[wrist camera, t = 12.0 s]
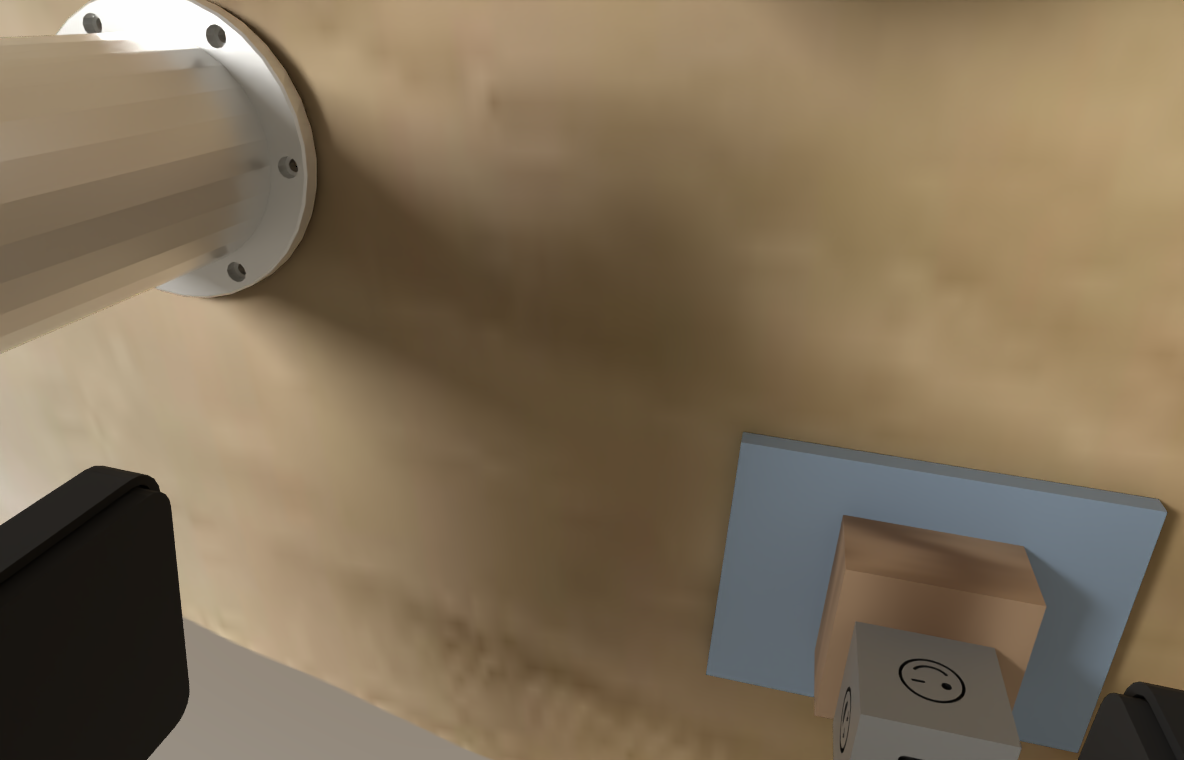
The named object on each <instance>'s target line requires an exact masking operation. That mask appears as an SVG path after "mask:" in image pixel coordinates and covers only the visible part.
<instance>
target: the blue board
mask: <svg viewBox="0 0 1184 760" xmlns="http://www.w3.org/2000/svg"><path fill="white" fill-rule="evenodd" d="M843 515H848V516H853V517H859V518H865V519H871V520H876V521H882V522H888V523H893V524H899V525H905V526H911V527H916V528H922V529H928V530H934V531H939V532H945V533H951V534H956V535H962V536H968V537H974V538H979V539H985V540H991V541H997V542H1002V543H1008V544H1014V545H1019V546H1024V548H1025V551H1026V553H1027V556H1028V559H1029V561H1030V564H1031V567H1032V569H1033V572H1034V575H1035V577H1036V580H1037V583H1038V585H1039V588H1040V591H1041V593H1042V596H1043V599H1044V601H1045V604H1046V609H1045V613H1044V616H1043V619H1042V622H1041V625H1040V628H1039V631H1038V634H1037V637H1036V640H1035V643H1034V646H1033V649H1032V652H1031V655H1030V658H1029V662H1028V665H1027V668H1026V671H1025V674H1024V677H1023V680H1022V683H1021V686H1020V689H1019V692H1018V695H1017V698H1016V701H1015V704H1014V707H1013V711H1012V714H1013V717H1014V721H1015V725H1016V729H1017V732H1018V736H1019V740H1020V741H1023V742H1028V743H1033V744H1037V745H1042V746H1047V747H1052V748H1056V749H1061V750H1066V751H1071V752H1075V753H1078V751H1079V749H1080V746H1081V743H1082V741H1083V738H1084V735H1085V733H1086V730H1087V727H1088V724H1089V722H1090V719H1091V716H1092V714H1093V711H1094V708H1095V706H1096V703H1097V700H1098V698H1099V695H1100V692H1101V690H1102V687H1103V684H1104V681H1105V679H1106V676H1107V673H1108V671H1109V668H1110V665H1111V663H1112V660H1113V657H1114V655H1115V652H1116V649H1117V647H1118V644H1119V641H1120V638H1121V636H1122V633H1123V630H1124V628H1125V625H1126V622H1127V620H1128V617H1129V614H1130V612H1131V609H1132V606H1133V604H1134V601H1135V598H1136V596H1137V593H1138V590H1139V587H1140V585H1141V582H1142V579H1143V577H1144V574H1145V571H1146V569H1147V566H1148V563H1149V561H1150V558H1151V555H1152V553H1153V550H1154V547H1155V544H1156V542H1157V539H1158V536H1159V534H1160V531H1161V528H1162V526H1163V523H1164V520H1165V518H1166V515H1167V511H1166V509H1165V508H1164V506H1163V505H1162V503H1161V502H1160V501H1159V499H1154V498H1148V497H1142V496H1136V495H1129V494H1123V493H1117V492H1111V491H1105V490H1099V489H1092V488H1086V487H1080V486H1074V485H1068V484H1062V483H1055V482H1049V481H1043V480H1037V479H1031V478H1024V477H1018V476H1012V475H1006V474H1000V473H994V472H987V471H981V470H975V469H969V468H963V467H956V466H950V465H944V464H938V463H932V462H926V461H919V460H913V459H907V458H901V457H895V456H889V455H882V454H876V453H870V452H864V451H858V450H851V449H845V448H839V447H833V446H827V445H821V444H814V443H808V442H802V441H796V440H790V439H784V438H777V437H771V436H765V435H759V434H753V433H746V432H743V435H742V441H741V447H740V454H739V460H738V467H737V473H736V480H735V487H734V493H733V500H732V506H731V513H730V520H729V526H728V533H727V539H726V546H725V552H724V559H723V566H722V572H721V579H720V585H719V592H718V599H717V605H716V612H715V618H714V625H713V632H712V638H711V645H710V651H709V658H708V664H707V671H706V675H710V676H715V677H720V678H724V679H729V680H734V681H739V682H743V683H748V684H753V685H758V686H762V687H767V688H772V689H777V690H781V691H786V692H791V693H796V694H800V695H805V696H810V697H814V662H815V647H816V642H817V637H818V632H819V628H820V623H821V618H822V613H823V609H824V604H825V599H826V594H827V589H828V585H829V580H830V575H831V570H832V565H833V561H834V556H835V551H836V546H837V541H838V537H839V532H840V527H841V522H842V518H843Z"/></svg>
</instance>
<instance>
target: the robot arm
mask: <svg viewBox="0 0 1184 760" xmlns="http://www.w3.org/2000/svg"><path fill="white" fill-rule="evenodd" d="M225 34H226V38H225ZM295 162H296V163H297V167H298V169H297V167H296V166H295ZM316 189H317V158H316V152H315V147H314V141H313V135H312V130H311V126H310V123H309V121H308V118H307V115H306V112H305V109H304V106H303V103H302V100H301V98H300V96H299V94H298V92H297V90H296V89H295V87H294V85H293V83H292V81H291V79H290V77H289V76H288V74H287V72H286V70H285V69H284V67H283V66H282V65H281V63H280V62H279V61H278V59H277V58H276V57H275V55H274V54H273V53H272V52H271V50H270V49H269V48H268V46H267V45H266V44H265V43H264V42H263V41H262V40H261V39H260V38H259V37H258V36H257V35H256V34H255V33H254V32H253V31H252V30H250V29H249V28H248V27H247V26H246V25H245V24H244V23H243V22H242V21H240V20H239V19H237V18H236V17H234V16H233V15H231V14H230V13H228V12H227V11H225V10H224V9H222V8H221V7H219V6H218V5H215V4H213V3H211V2H208V1H206V0H91V1H89V2H87V3H86V4H85V5H84V6H82V7H81V8H80V9H79V10H77V11H76V12H75V13H73V14H72V15H71V16H70V17H68V19H67V20H66V21H65V23H64V24H63V25H62V27H61V28H60V29H59V31H58V32H57V33H56V34H55V35H45V36H22V37H0V354H1V353H4V352H6V351H8V350H11V349H13V348H15V347H18V346H20V345H22V344H25V343H27V342H29V341H32V340H34V339H36V338H39V337H41V336H43V335H46V334H48V333H50V332H53V331H55V330H57V329H60V328H62V327H64V326H67V325H69V324H71V323H73V322H76V321H78V320H80V319H83V318H85V317H87V316H90V315H92V314H94V313H97V312H99V311H101V310H104V309H106V308H108V307H111V306H113V305H115V304H118V303H120V302H122V301H125V300H127V299H129V298H132V297H134V296H136V295H139V294H141V293H143V292H146V291H148V290H150V289H153V288H156V289H158V290H160V291H164V292H168V293H172V294H176V295H180V296H184V297H201V298H211V297H217V296H223V295H229V294H233V293H235V292H238V291H240V290H242V289H245V288H247V287H250V286H252V285H254V284H256V283H257V282H259V281H261V280H263V279H265V278H266V277H268V276H270V275H272V274H273V273H274V272H275V271H276V270H277V269H278V268H279V267H280V266H281V265H283V264H284V263H285V262H286V261H287V260H288V259H289V258H290V256H291V255H292V253H293V252H294V250H295V249H296V247H297V246H298V244H299V243H300V241H301V240H302V238H303V236H304V234H305V231H306V228H307V226H308V223H309V221H310V218H311V216H312V212H313V206H314V201H315V195H316ZM188 698H189V678H188V669H187V659H186V649H185V639H184V629H183V619H182V610H181V600H180V590H179V580H178V570H177V561H176V551H175V541H174V531H173V521H172V511H171V505H170V500H169V499H168V497H167V496H166V494H164V493H162V492H160V489H159V485H158V484H157V482H156V481H155V479H154V478H152V477H150V476H148V475H144V474H140V473H135V472H130V471H125V470H120V469H116V468H111V467H106V466H93V467H91V468H89V469H86V470H84V471H83V472H81V473H80V474H78V475H77V476H75V477H74V478H72V479H71V480H69V481H68V482H66V483H65V484H63V485H61V486H60V487H58V488H57V489H55V490H54V491H52V492H51V493H49V494H48V495H46V496H45V497H43V498H42V499H40V500H38V501H37V502H35V503H34V504H32V505H31V506H29V507H28V508H26V509H25V510H23V511H22V512H20V513H19V514H17V515H15V516H14V517H12V518H11V519H9V520H8V521H6V522H5V523H3V524H2V525H0V760H147V759H148V758H149V756H150V755H151V754H152V753H153V752H154V751H155V749H156V748H157V747H158V746H159V745H160V744H161V743H162V741H163V740H164V739H165V738H166V737H167V736H168V734H169V733H170V732H171V731H172V730H173V729H174V728H175V726H176V725H177V723H178V722H179V721H180V719H181V717H182V715H183V713H184V711H185V709H186V706H187V703H188ZM1078 760H1184V691H1183V690H1178V689H1173V688H1168V687H1164V686H1159V685H1154V684H1149V683H1144V682H1135V683H1133V684H1132V685H1130V686H1129V687H1128V688H1127V689H1126V691H1125V693H1124V695H1122V694H1117V693H1110V694H1108V695H1107V696H1106V697H1105V698H1104V700H1103V702H1102V703H1101V705H1100V708H1099V710H1098V713H1097V715H1096V717H1095V720H1094V722H1093V725H1092V727H1091V729H1090V732H1089V734H1088V737H1087V739H1086V742H1085V744H1084V746H1083V749H1082V751H1081V754H1080V756H1079V758H1078Z"/></svg>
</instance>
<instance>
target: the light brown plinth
mask: <svg viewBox="0 0 1184 760" xmlns="http://www.w3.org/2000/svg"><path fill="white" fill-rule="evenodd" d="M1045 609H1046V604H1045V601H1044V599H1043V596H1042V593H1041V591H1040V588H1039V585H1038V583H1037V580H1036V577H1035V575H1034V572H1033V569H1032V567H1031V564H1030V561H1029V559H1028V556H1027V553H1026V551H1025V548H1024V546H1019V545H1014V544H1008V543H1002V542H997V541H991V540H985V539H979V538H974V537H968V536H962V535H956V534H951V533H945V532H939V531H934V530H928V529H922V528H916V527H911V526H905V525H899V524H893V523H888V522H882V521H876V520H871V519H865V518H859V517H853V516H848V515H843V518H842V522H841V527H840V532H839V537H838V541H837V546H836V551H835V556H834V561H833V565H832V570H831V575H830V580H829V585H828V589H827V594H826V599H825V604H824V609H823V613H822V618H821V623H820V628H819V632H818V637H817V642H816V647H815V662H814V715H816V716H820V717H825V718H830V719H834V715H835V711H836V706H837V702H838V697H839V693H840V688H841V684H842V679H843V675H844V670H845V666H846V661H847V657H848V652H849V648H850V643H851V639H852V635H853V630H854V626H855V621H857V622H862V623H867V624H873V625H878V626H883V627H888V628H893V629H899V630H904V631H909V632H914V633H919V634H925V635H930V636H935V637H940V638H945V639H951V640H956V641H961V642H966V643H971V644H977V645H982V646H987V647H992V648H995V651H996V655H997V658H998V662H999V666H1000V669H1001V673H1002V677H1003V681H1004V684H1005V688H1006V692H1007V695H1008V699H1009V703H1010V706H1011V710H1012V711H1013V707H1014V704H1015V701H1016V698H1017V695H1018V692H1019V689H1020V686H1021V683H1022V680H1023V677H1024V674H1025V671H1026V668H1027V665H1028V662H1029V658H1030V655H1031V652H1032V649H1033V646H1034V643H1035V640H1036V637H1037V634H1038V631H1039V628H1040V625H1041V622H1042V619H1043V616H1044V613H1045Z"/></svg>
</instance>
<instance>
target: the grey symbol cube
mask: <svg viewBox="0 0 1184 760" xmlns="http://www.w3.org/2000/svg"><path fill="white" fill-rule="evenodd" d="M1021 748H1022V747H1021V743H1020V740H1019V736H1018V732H1017V729H1016V725H1015V721H1014V717H1013V714H1012V710H1011V706H1010V703H1009V699H1008V695H1007V692H1006V688H1005V684H1004V681H1003V677H1002V673H1001V669H1000V666H999V662H998V658H997V655H996V651H995V648H992V647H987V646H982V645H977V644H971V643H966V642H961V641H956V640H951V639H945V638H940V637H935V636H930V635H925V634H919V633H914V632H909V631H904V630H899V629H893V628H888V627H883V626H878V625H873V624H867V623H862V622H857V621H855V626H854V630H853V635H852V639H851V643H850V648H849V652H848V657H847V661H846V666H845V670H844V675H843V679H842V684H841V688H840V693H839V697H838V702H837V706H836V711H835V715H834V720H833V760H1018V757H1019V754H1020V751H1021Z"/></svg>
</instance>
